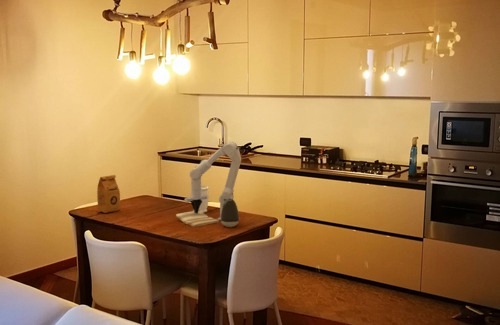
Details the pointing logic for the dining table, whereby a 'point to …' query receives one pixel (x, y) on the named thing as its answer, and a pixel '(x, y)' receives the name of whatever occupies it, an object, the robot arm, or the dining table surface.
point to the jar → (204, 201)
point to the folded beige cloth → (202, 221)
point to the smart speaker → (229, 213)
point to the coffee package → (108, 195)
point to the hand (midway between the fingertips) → (196, 212)
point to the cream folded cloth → (191, 216)
